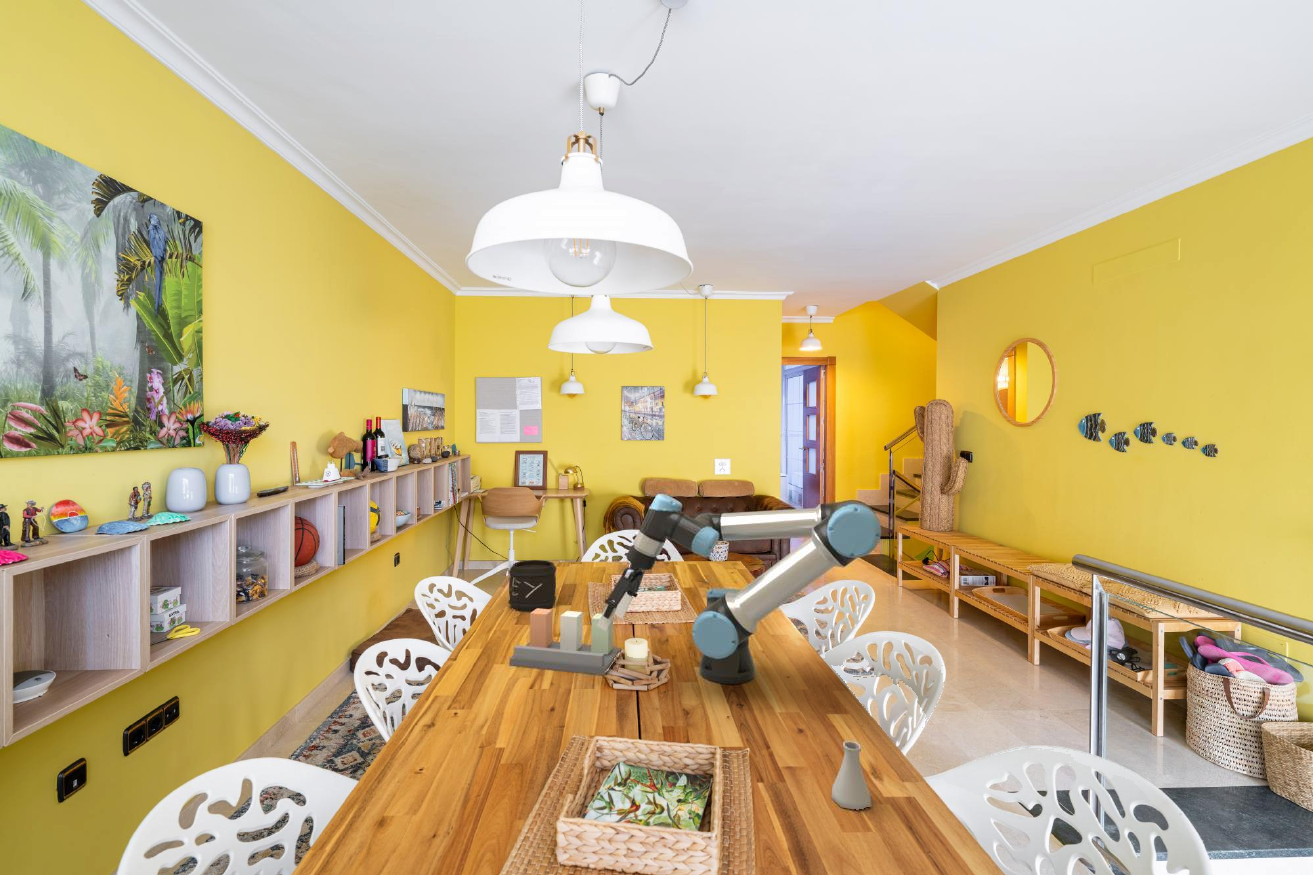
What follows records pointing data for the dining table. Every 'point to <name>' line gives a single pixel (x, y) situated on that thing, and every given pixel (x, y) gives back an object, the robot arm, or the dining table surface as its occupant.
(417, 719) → the dining table surface
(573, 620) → the grey key
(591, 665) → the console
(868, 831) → the dining table surface
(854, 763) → the flask
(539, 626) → the salmon orange block
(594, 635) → the sage key
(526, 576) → the black lettered canister
